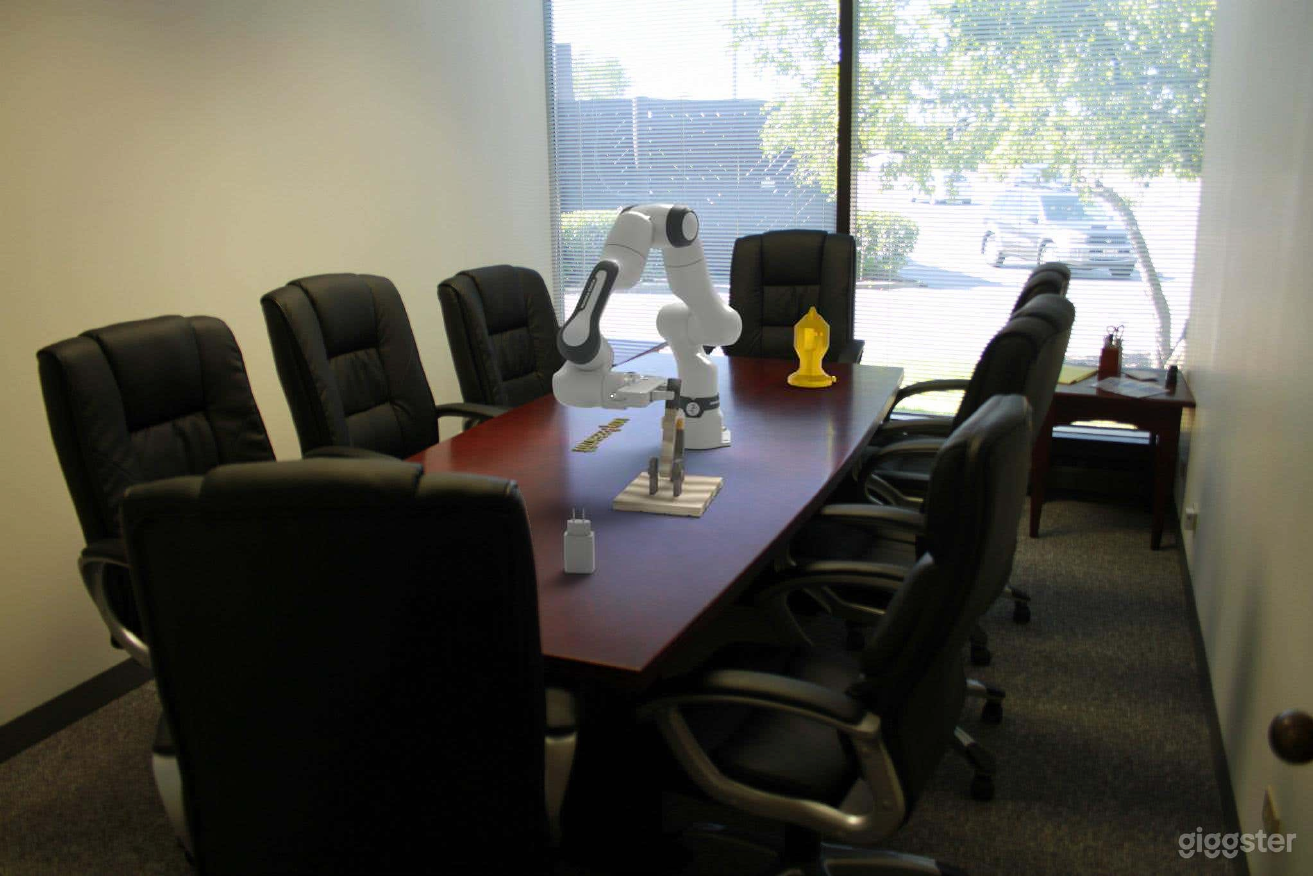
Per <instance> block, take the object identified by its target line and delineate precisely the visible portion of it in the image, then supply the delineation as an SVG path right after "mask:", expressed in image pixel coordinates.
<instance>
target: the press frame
mask: <svg viewBox="0 0 1313 876" xmlns="http://www.w3.org/2000/svg"><path fill="white" fill-rule="evenodd" d="M685 450H686V448H685V422H684V429H683V430H681V429H676V437H675V447H674V457H673V468H672V478H666V477H660V476H659V457H656V456H653V457H651V458H650V459H649V461H648V462H649V463H648V468H647V471H642V472H641V473H640V474H639V475H638V476H636V477H635V479H634V480H632V481H631V483H629V484H628V486H626V488H624V489H623V490H622V491H621V492H620V493H619V494H618V495H617V496H616V497H615V498H614V499H613V500H612V509H613V510H618V511H619V510H620V511H629V512H630V511H631V512H640V511H642V512H641V513H651V514H652V513H655V514H664V513H665V514H666V515H677V516H678V515H679V516H687V515H691V517H698V518H699V517H701V516H702V515H703V514H704V513H705V511H706V510H707V509H708V507H709V506H708V505H710V504H711V503H710V502H712V501H713V500H714V498H715V497H716V496H717V494H718V493H719V491H720V490H721V489H722V487H723V486H722V485H724V484H723V481H724V478H723V477H719V476H705V475H692V474H691V475H690V474H685V470H686V469H685V468H686V467H685V462H686V460H685V458H686V457H685V454H686V453H685V452H686V451H685ZM721 486H722V487H721ZM720 488H721V489H720ZM719 489H720V490H719ZM717 492H718V493H717ZM715 495H716V496H715ZM714 496H715V497H714ZM712 499H713V500H712ZM709 503H710V504H709ZM707 506H708V507H707ZM705 509H706V510H705ZM703 512H704V513H703ZM702 513H703V514H702ZM665 514H664V515H665Z"/></svg>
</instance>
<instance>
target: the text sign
mask: <svg viewBox="0 0 1313 876" xmlns="http://www.w3.org/2000/svg"><path fill="white" fill-rule="evenodd" d="M629 421H630V418H627V417H626V418H624V417H623V418H622V417H615V418H613V419H612V420H611V421H608V424H602V425H601V424H600V425H598V428H601V430H596V431H595V433H592V434H591V435H590V436H588V437H587V438H586V439H584V440H583V441H581V442H580V443H578V444H577V445H575V446H574V448H571V452H580V451H584V452H583V453H588V452H587V451H594V452H596V451H597V449H598V448H597V447H599V446H598V445H599V442H602V440H603V441H604V439H606V438H608V437H609V436H610V435H612V434H613V432H621V431H622V428H621V427H623V426H624V425H625V424H626V423H628V422H629ZM595 436H596V437H595ZM591 438H592V439H591ZM587 442H593V443H587ZM582 444H585V445H582ZM596 444H597V445H596ZM595 445H596V446H595ZM592 447H593V448H592ZM575 448H578V449H575ZM589 449H590V450H589ZM595 450H596V451H595Z"/></svg>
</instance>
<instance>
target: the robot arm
mask: <svg viewBox="0 0 1313 876" xmlns="http://www.w3.org/2000/svg"><path fill="white" fill-rule="evenodd" d="M699 226H700V225H699V218H698V215H697V214H696V212H695V211H694V209H693V208H692V207H691V206H689V205H685V204H681V203H676V204H672V203H661V202H657V203H649V204H642V205H641V204H634V205H628V206H626V207H625V208H622V210H621V211H620V213H619V214H618V216H617V217H616V219H615V220H614V222H613V225H612V226H611V228H610V230H609V233H608V235H607V237H606V239H605V241H604V244H603V247H602V250H601V253H600V255H599V259H598V260H597V262H596V264H595V266H594V267H593V269H592V271H591V273H590V274H589V276H588V278H587V281H586V283H585V285H584V287H583V290H582V291H581V294H580V296H579V299H578V301H577V303H576V306H575V308H574V309H573V312H571V315H570V316H569V318H567V320H566V321H565V322H564V323H563V324H562V326H561V327H560V329H559V331H558V334H557V335H556V336H557V337H556V346H557V350H558V352H559V354H560V355H561V356H562V357H563V358H564V359H566V361H565V363H564V364H563V365H562V367H560V369H559V370H558V371H556V372H555V373H554V374H553V376H552V379H551V388H552V392H553V396H554V398H555V399H556V400H557V402H558V403H559V404H560V405H562V406H566V407H569V408H570V407H571V408H578V409H593V408H601V409H603V410H615V411H617V410H620V411H626V410H628V409H629V408H636V409H641V408H642V409H644V408H647V407H648V406H651V404H653V403H654V402H655V401H656V402H657V401H658V402H659V401H666V400H672V399H674V398H675V392H674V391H667V381H668V378H667V377H664V376H659V375H648V374H637V372H636V371H612V368H613V365H614V360H615V352H614V350H613V347H612V345H611V344H610V342H608V340H607V339H606V338H605V337H604V335H602V333H601V328H600V323H601V322H600V321H601V319H602V316H603V314H604V312H605V309H606V307H607V304H608V302H609V300H610V298H611V296H612V294H613V292H615V291H623V292H624V291H628V290H631V289H633V288H634V287H636V286H637V284H638V283H639V281H640V280H641V278H642V275H643V273H644V271H645V268H646V265H647V261H648V257H649V256H650V251H651V250H652V249H655V250H656V249H661V254H662V261H663V265H664V269H665V274H666V278H667V282H668V287H669V290H670V292H671V293H672V294H673V295H674V296H675V297H677V298H678V299H679V300H680V301H682V302H677V303H676V302H675V303H670V304H666V305H665V304H664V305H663V306H662V307H661V308H660V309H659V311H658V313H657V315H656V319H655V325H656V331H657V333H658V334H659V336H660V337H661V338H662V339H663V340H664V341H666V343H667V344H668V346H669V348H670V350H671V353H672V354H673V358H674V359H675V364H676V369H677V373H676V374H677V379H681V380H682V381H681V391H680V402H679V410H678V414H679V413H685V417H684V422H685V449H693V450H704V449H705V450H707V449H714V448H720V447H729V446H731V442H732V441H731V439H732V438H731V433H732V432H731V430H729V429H727V428H726V427H725V426H724V415H723V412H722V410H721V408H720V405H721V404H720V402H721V400H720V392H719V391H718V388H719V387H718V386H719V382H718V381H719V370H718V365H717V363H716V362H715V361H714V360H712V359H711V358H710V357H709V356H708V355H707V353H706V351H705V349H704V346H708V347H723V346H730V345H734V344H735V343H736V342H737V341H738V340H739V339H740V337H741V334H742V329H743V324H742V323H743V322H742V318H741V316H740V314H739V313H738V311H737V310H735V309H733V308H732V307H731V306H729V304H728V303H727V302H726V301H725V300H723V298H722V297H721V295H720V294H719V292H718V291H717V289H716V287H715V285H714V284H713V281H712V279H711V274H710V271H709V268H708V264H707V259H706V255H705V250H704V245H703V242H702V239H701V236H700V233H699V229H700V227H699Z"/></svg>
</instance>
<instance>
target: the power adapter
mask: <svg viewBox="0 0 1313 876" xmlns="http://www.w3.org/2000/svg"><path fill="white" fill-rule="evenodd" d="M575 515H576V514H575V508H572V519H568V520H566V522H567V523H566V524H567V529H566V530H565V532H564V534H563V550H564V552H563V553H564V557H563V558H564V572H565V573H567V574H568V573H569V574H570V573H571V574H593V573H594V572H595V570H596V560H595V559H596V557H595V555H596V552H595V549H596V548H595V531H592V530H591V526H592V524H591V520H588V519H585V509H584V508H583V509H582V519H578V518H577V519H576V518H575V517H576V516H575Z"/></svg>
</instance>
